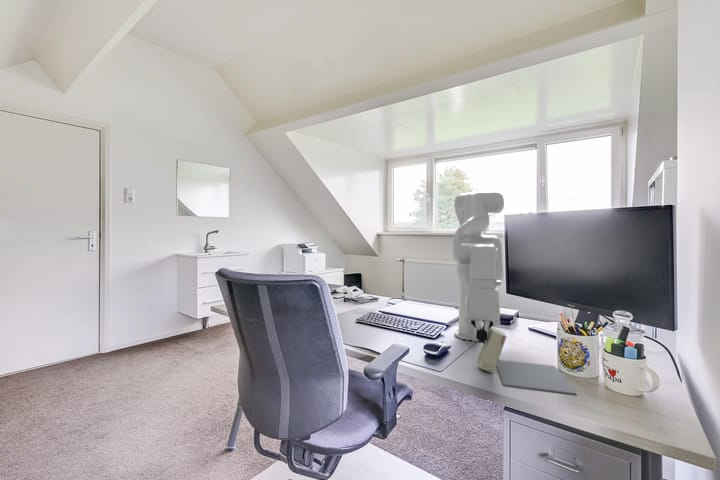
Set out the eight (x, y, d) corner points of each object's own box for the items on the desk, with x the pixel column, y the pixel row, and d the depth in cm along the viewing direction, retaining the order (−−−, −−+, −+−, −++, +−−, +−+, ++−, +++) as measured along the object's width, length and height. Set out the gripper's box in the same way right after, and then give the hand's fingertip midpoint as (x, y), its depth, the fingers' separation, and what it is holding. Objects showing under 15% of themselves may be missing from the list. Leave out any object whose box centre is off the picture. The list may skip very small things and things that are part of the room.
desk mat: (494, 360, 107) (494, 359, 107) (554, 367, 102) (554, 365, 102) (503, 385, 90) (503, 384, 90) (576, 394, 85) (576, 393, 85)
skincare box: (493, 374, 97) (507, 337, 96) (479, 368, 98) (493, 331, 97) (489, 365, 103) (502, 330, 102) (476, 360, 104) (488, 325, 103)
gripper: (506, 283, 101) (505, 340, 102) (457, 280, 106) (456, 335, 106) (510, 287, 94) (509, 348, 95) (457, 284, 98) (456, 343, 99)
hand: (481, 341), depth 100 cm, fingers closed
